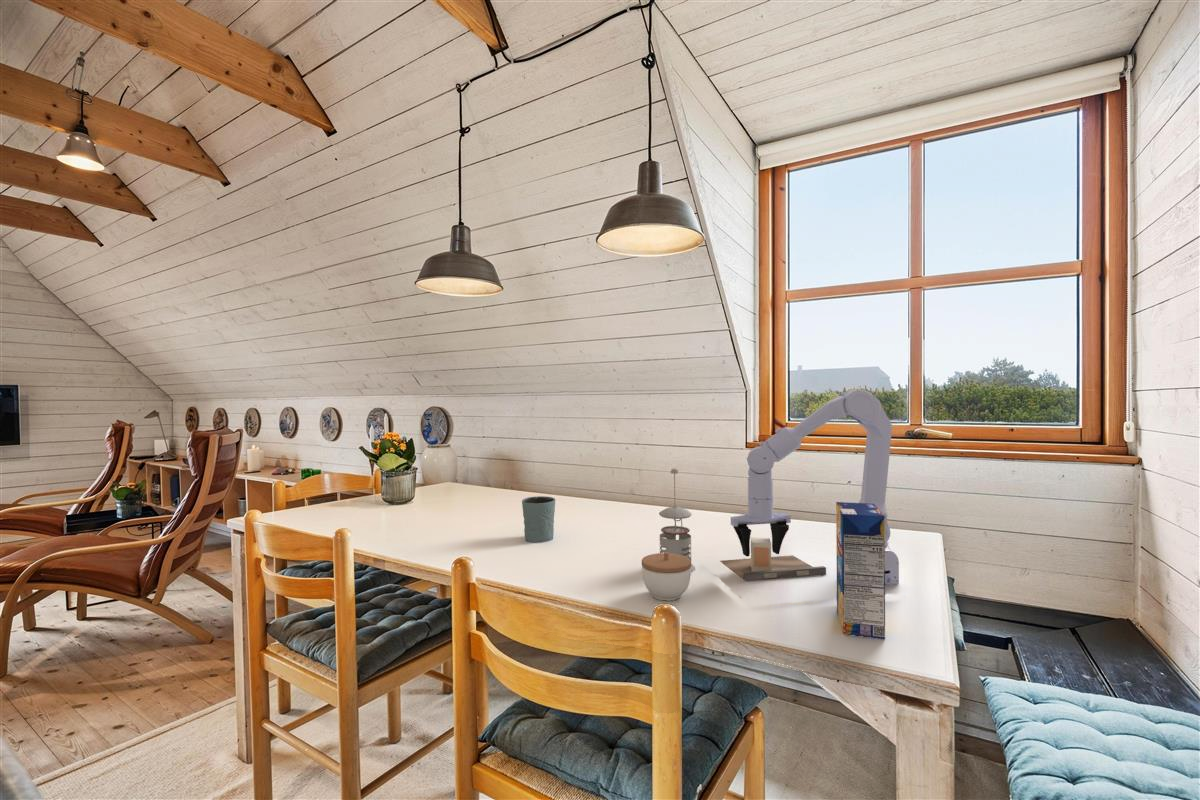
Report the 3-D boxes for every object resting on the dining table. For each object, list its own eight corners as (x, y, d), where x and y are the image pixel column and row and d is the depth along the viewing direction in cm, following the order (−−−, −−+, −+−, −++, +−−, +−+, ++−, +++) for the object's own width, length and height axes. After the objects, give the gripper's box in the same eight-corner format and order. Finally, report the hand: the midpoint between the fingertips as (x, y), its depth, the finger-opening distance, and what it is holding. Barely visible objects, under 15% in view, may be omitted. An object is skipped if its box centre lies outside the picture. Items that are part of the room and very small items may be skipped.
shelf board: (826, 579, 129) (826, 567, 129) (745, 586, 125) (745, 574, 125) (792, 559, 144) (792, 549, 144) (719, 565, 140) (719, 554, 140)
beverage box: (843, 635, 100) (842, 514, 100) (836, 611, 111) (836, 501, 110) (885, 639, 98) (884, 516, 98) (874, 615, 109) (874, 503, 108)
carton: (751, 566, 136) (750, 537, 136) (769, 567, 135) (769, 538, 135) (752, 572, 131) (751, 542, 131) (771, 573, 130) (771, 543, 130)
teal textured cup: (547, 532, 175) (546, 495, 174) (561, 540, 166) (561, 500, 166) (517, 537, 169) (516, 498, 169) (530, 545, 161) (529, 504, 160)
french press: (652, 572, 136) (651, 470, 135) (660, 558, 147) (659, 464, 146) (693, 575, 133) (692, 471, 132) (698, 561, 144) (697, 465, 144)
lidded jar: (672, 609, 113) (671, 563, 113) (631, 596, 120) (631, 553, 120) (701, 594, 121) (700, 551, 121) (661, 583, 128) (661, 543, 128)
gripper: (780, 493, 138) (780, 547, 138) (725, 496, 135) (725, 551, 136) (795, 498, 131) (795, 555, 131) (737, 501, 128) (738, 560, 129)
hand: (761, 554), depth 133 cm, fingers open, 7 cm apart
